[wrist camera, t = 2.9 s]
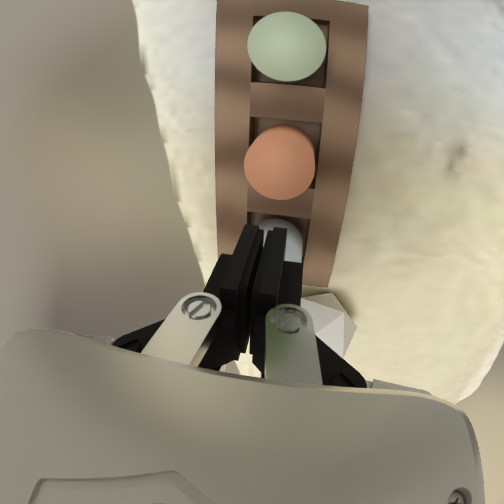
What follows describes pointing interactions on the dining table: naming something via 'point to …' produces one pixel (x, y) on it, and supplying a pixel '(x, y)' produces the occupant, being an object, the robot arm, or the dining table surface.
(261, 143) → the button terracotta
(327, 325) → the die
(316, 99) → the board
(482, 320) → the dining table surface
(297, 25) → the button sage
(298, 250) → the button blue
